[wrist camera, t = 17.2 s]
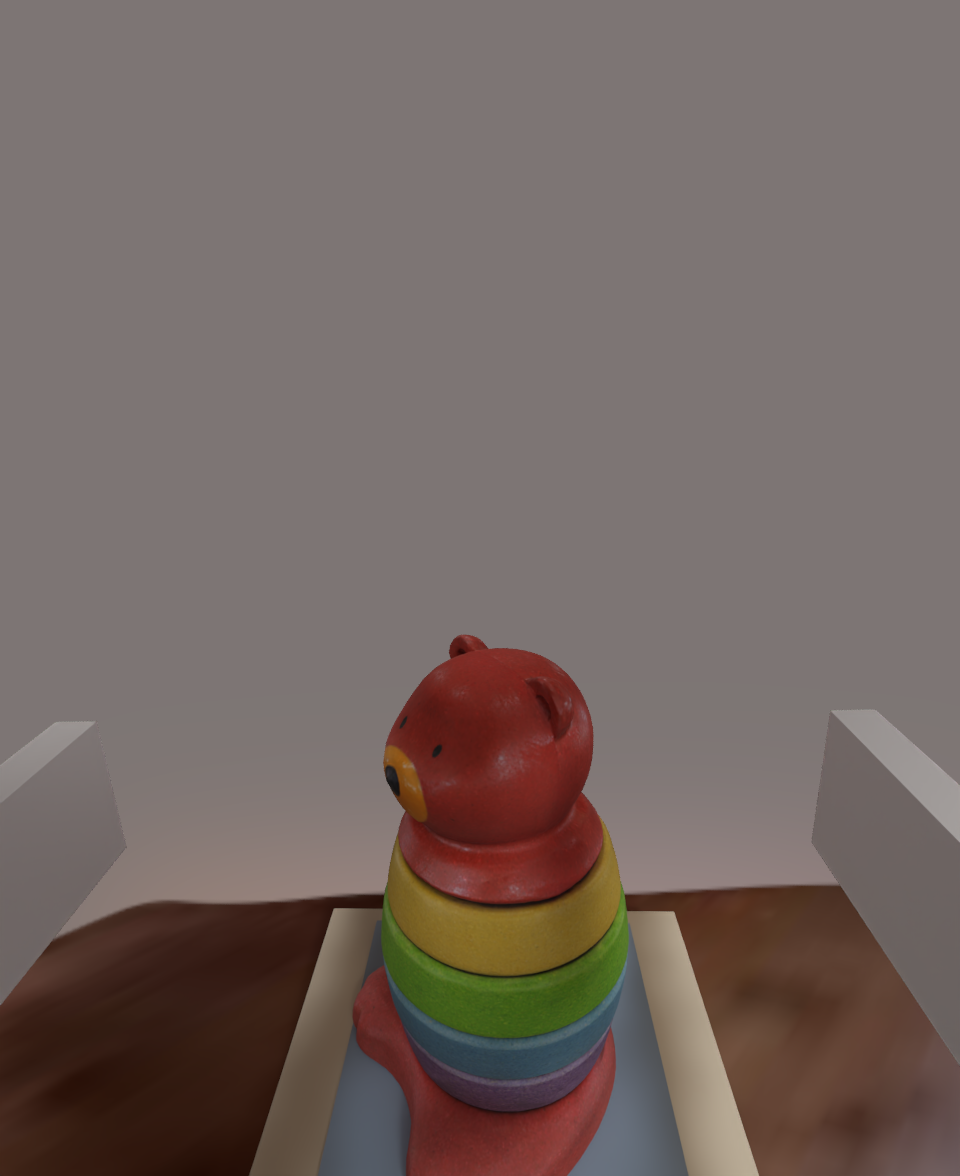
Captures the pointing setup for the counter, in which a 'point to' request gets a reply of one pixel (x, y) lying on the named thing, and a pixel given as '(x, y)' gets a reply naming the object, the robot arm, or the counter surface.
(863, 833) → the robot arm
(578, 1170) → the plinth
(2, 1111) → the counter surface
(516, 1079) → the stacking bear
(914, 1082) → the counter surface
